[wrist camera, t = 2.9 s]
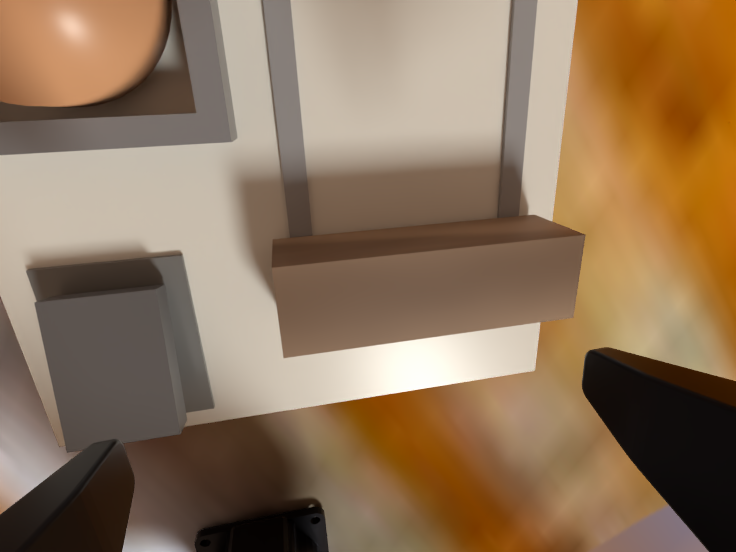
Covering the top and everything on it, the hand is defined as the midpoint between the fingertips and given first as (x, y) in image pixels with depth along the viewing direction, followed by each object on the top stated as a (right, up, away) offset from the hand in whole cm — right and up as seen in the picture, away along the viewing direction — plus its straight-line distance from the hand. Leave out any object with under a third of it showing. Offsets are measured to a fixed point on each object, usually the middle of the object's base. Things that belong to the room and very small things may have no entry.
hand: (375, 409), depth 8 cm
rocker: (-9, 0, +6) cm, 10 cm away
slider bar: (+1, +3, +8) cm, 9 cm away
